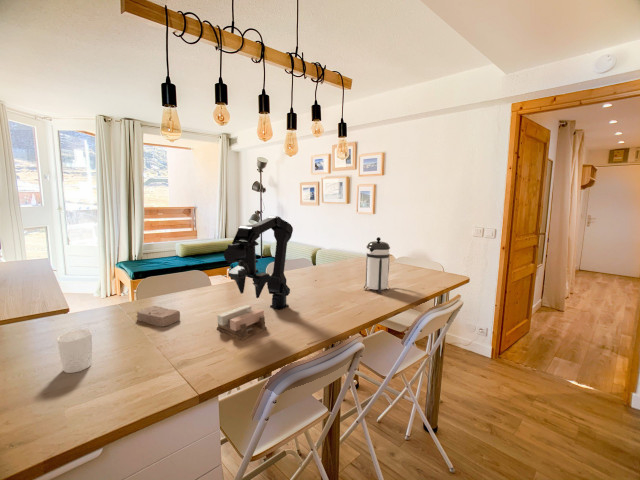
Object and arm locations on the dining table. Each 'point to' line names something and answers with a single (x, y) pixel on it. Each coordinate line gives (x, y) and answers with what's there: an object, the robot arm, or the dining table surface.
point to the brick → (158, 316)
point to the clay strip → (246, 319)
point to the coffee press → (377, 265)
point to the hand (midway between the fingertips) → (249, 295)
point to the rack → (244, 329)
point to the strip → (232, 314)
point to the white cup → (75, 350)
